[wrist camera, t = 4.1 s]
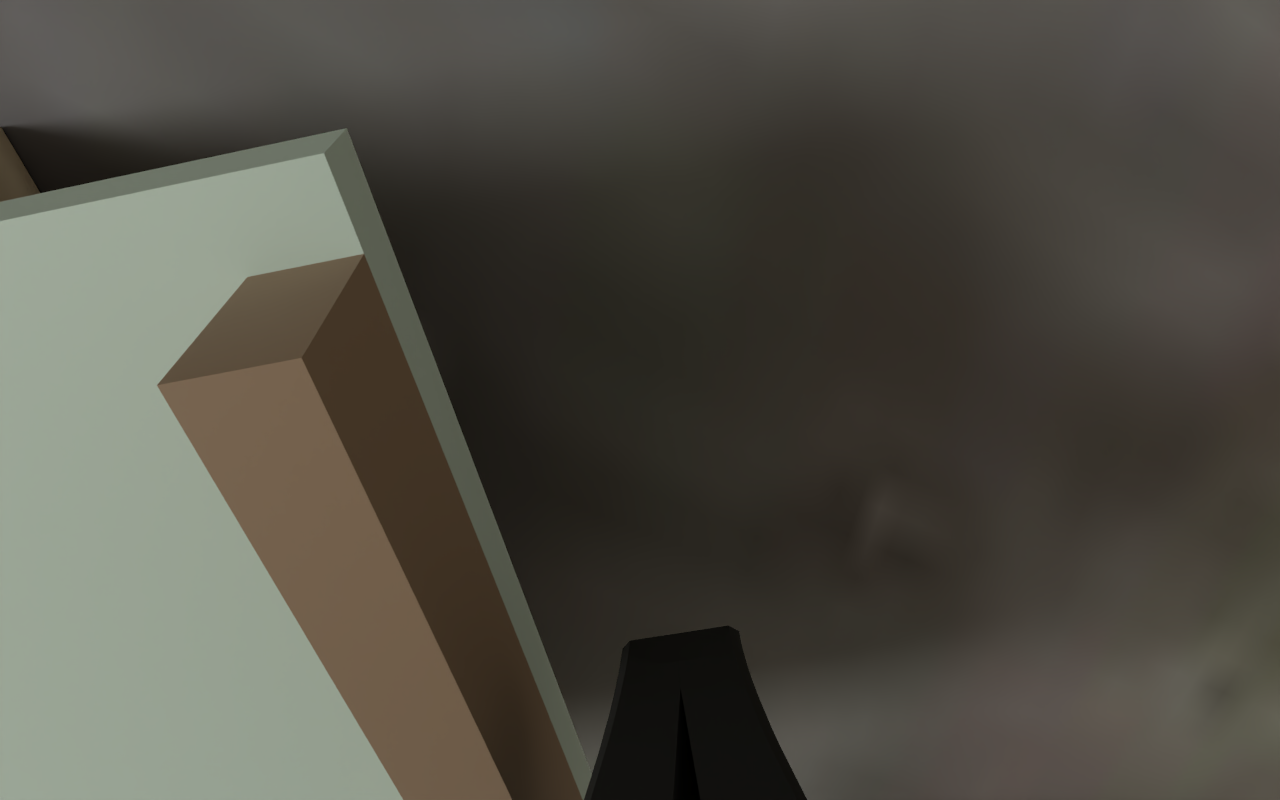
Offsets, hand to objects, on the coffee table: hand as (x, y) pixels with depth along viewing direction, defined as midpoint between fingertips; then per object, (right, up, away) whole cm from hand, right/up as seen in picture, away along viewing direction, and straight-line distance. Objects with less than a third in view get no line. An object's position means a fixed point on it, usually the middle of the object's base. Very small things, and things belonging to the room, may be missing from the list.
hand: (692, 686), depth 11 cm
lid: (-8, -1, +2) cm, 8 cm away
